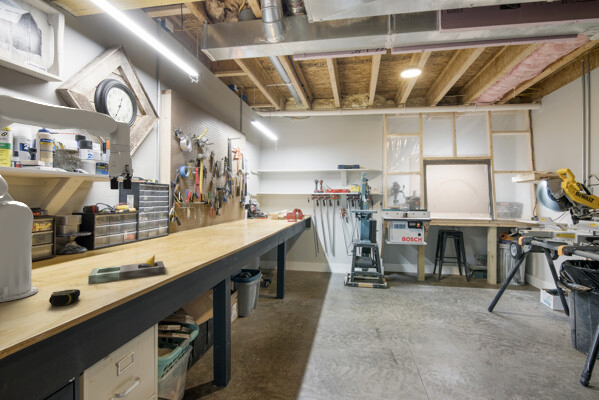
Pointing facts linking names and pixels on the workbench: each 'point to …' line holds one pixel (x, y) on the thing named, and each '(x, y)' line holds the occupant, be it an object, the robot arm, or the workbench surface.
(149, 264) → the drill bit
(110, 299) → the workbench surface
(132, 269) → the block
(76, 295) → the tape measure
